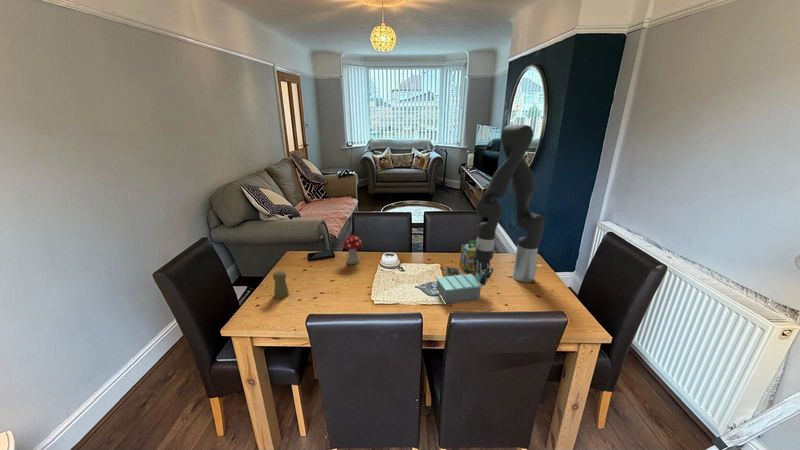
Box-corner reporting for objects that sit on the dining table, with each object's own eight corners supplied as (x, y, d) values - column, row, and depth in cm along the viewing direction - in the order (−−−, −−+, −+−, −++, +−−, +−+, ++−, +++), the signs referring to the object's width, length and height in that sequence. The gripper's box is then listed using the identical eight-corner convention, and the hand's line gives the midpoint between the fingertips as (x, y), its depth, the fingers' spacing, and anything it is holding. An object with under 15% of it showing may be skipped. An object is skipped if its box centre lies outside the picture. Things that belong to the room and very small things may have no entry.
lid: (479, 274, 149) (480, 268, 148) (491, 285, 139) (492, 279, 138) (436, 279, 144) (436, 272, 143) (445, 291, 134) (446, 284, 133)
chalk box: (466, 272, 165) (468, 245, 160) (459, 264, 173) (461, 238, 168) (482, 270, 167) (485, 244, 162) (475, 263, 175) (477, 237, 170)
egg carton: (461, 283, 154) (462, 276, 153) (445, 282, 155) (446, 275, 153) (459, 273, 164) (460, 265, 163) (444, 272, 165) (445, 265, 163)
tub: (469, 288, 149) (470, 276, 148) (479, 299, 140) (480, 287, 138) (436, 292, 146) (437, 280, 144) (444, 304, 136) (445, 291, 134)
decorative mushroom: (359, 257, 178) (359, 232, 173) (364, 264, 171) (364, 237, 166) (341, 260, 174) (340, 234, 169) (346, 267, 167) (345, 240, 162)
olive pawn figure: (280, 300, 137) (277, 277, 133) (271, 296, 140) (268, 273, 136) (292, 294, 141) (289, 271, 138) (282, 290, 144) (280, 267, 141)
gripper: (501, 252, 133) (496, 289, 138) (484, 240, 146) (480, 274, 151) (485, 254, 131) (480, 292, 137) (469, 241, 144) (466, 276, 149)
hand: (480, 282), depth 144 cm, fingers closed on lid, 3 cm apart
